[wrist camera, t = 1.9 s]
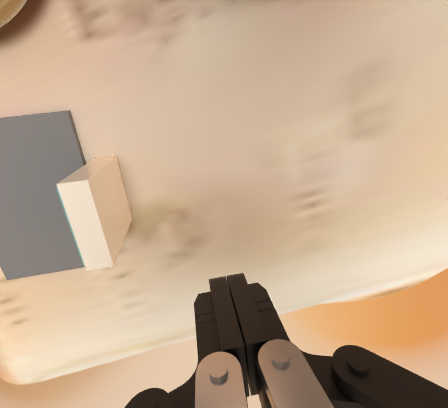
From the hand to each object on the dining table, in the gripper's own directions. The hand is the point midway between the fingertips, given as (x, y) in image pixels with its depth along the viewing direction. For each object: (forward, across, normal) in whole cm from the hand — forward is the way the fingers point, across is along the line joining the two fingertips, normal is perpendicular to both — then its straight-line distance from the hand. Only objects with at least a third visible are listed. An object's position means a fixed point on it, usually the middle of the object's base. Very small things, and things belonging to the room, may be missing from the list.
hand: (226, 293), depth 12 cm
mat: (+18, +16, 0) cm, 25 cm away
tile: (+18, +9, 0) cm, 20 cm away
